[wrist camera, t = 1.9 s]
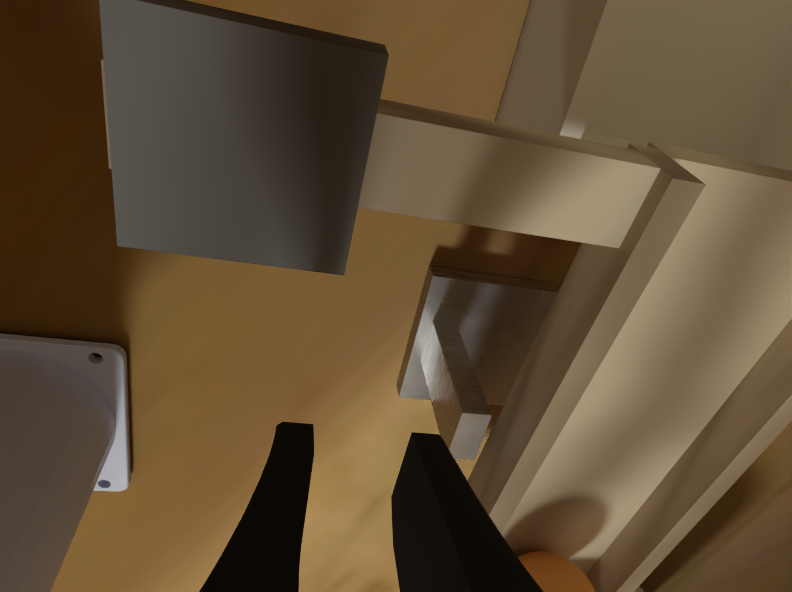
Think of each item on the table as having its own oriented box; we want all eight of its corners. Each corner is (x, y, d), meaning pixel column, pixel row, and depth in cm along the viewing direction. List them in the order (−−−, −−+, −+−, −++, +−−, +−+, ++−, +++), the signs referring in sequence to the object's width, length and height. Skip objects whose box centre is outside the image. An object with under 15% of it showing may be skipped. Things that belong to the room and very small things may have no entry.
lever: (156, 564, 22) (132, 658, 19) (130, -33, 10) (60, -8, 8) (580, 570, 26) (609, 649, 23) (911, 147, 14) (1049, 206, 12)
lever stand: (396, 385, 24) (417, 497, 19) (428, 265, 21) (464, 361, 16) (635, 405, 27) (710, 510, 22) (693, 302, 24) (796, 394, 19)
